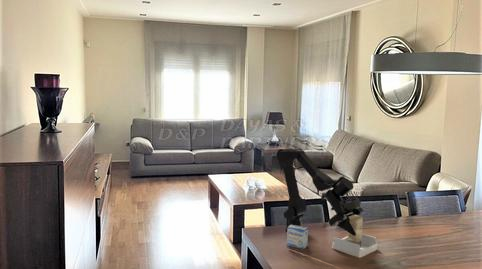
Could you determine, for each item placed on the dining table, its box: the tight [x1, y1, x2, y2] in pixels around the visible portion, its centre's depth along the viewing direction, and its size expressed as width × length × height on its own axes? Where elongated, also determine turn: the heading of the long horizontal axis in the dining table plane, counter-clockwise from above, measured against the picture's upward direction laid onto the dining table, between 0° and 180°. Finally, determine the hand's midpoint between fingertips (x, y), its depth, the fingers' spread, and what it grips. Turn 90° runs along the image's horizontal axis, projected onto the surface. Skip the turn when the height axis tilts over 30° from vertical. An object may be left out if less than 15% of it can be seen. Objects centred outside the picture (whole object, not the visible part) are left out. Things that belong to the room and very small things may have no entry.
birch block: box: [347, 215, 364, 248], centre depth 172 cm, size 4×4×13 cm
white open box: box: [331, 233, 378, 259], centre depth 172 cm, size 13×13×6 cm
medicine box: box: [286, 225, 309, 249], centre depth 175 cm, size 8×4×9 cm, turn 62°
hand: (358, 234), depth 171 cm, fingers closed on birch block, 4 cm apart
